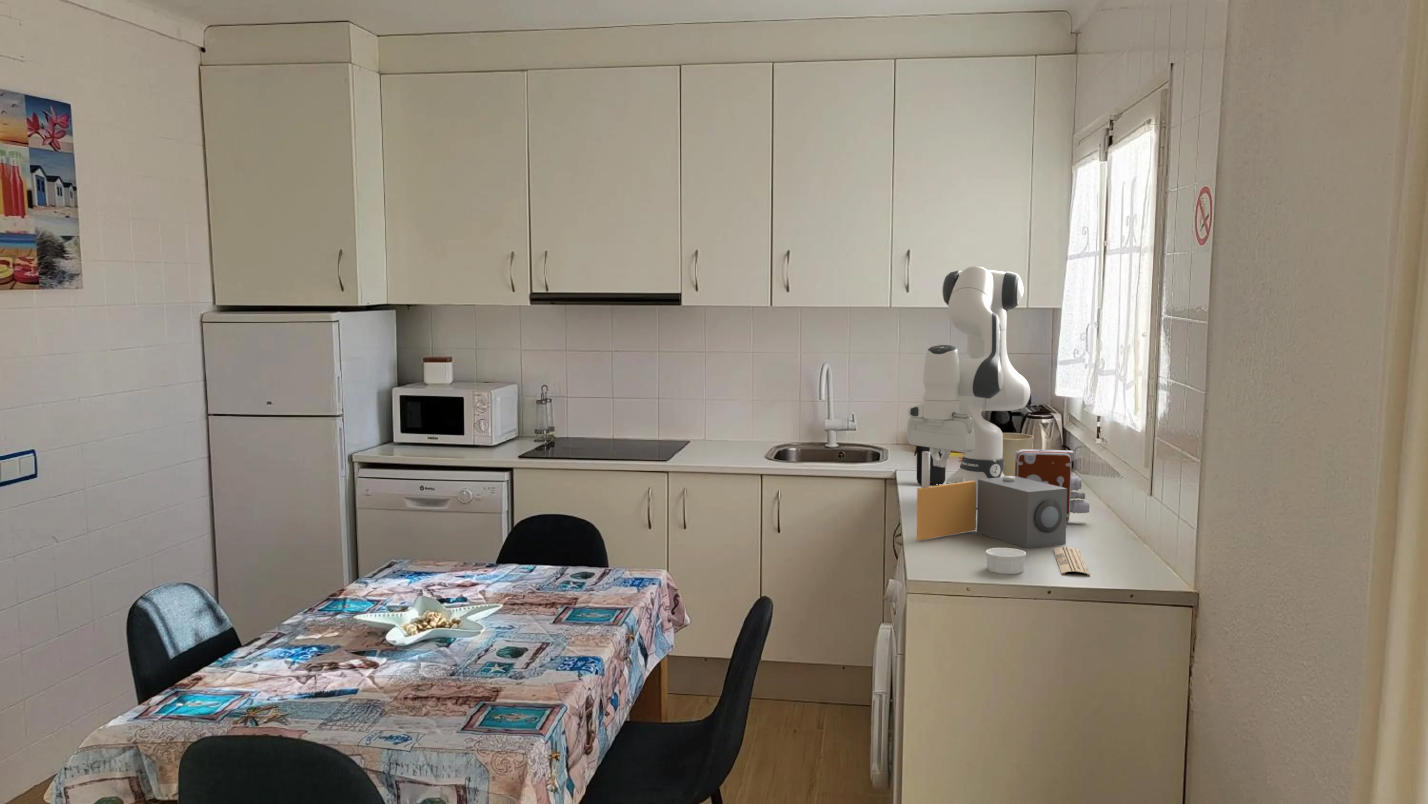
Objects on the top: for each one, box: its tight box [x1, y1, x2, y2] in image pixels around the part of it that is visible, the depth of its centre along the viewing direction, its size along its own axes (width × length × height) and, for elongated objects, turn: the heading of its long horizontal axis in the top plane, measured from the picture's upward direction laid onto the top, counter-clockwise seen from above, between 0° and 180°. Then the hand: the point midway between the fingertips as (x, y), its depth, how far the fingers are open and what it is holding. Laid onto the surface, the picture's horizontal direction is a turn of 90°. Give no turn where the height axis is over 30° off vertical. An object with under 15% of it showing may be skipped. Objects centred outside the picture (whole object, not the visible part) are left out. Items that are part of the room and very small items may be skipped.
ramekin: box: [985, 547, 1027, 575], centre depth 242 cm, size 9×9×4 cm
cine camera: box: [1015, 448, 1090, 525], centre depth 292 cm, size 9×19×20 cm, turn 78°
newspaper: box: [1052, 546, 1091, 577], centre depth 249 cm, size 24×7×2 cm, turn 167°
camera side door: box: [916, 451, 977, 541], centre depth 275 cm, size 21×2×22 cm, turn 124°
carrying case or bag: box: [913, 445, 947, 486], centre depth 350 cm, size 11×3×15 cm, turn 99°
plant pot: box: [1002, 432, 1034, 476], centre depth 352 cm, size 15×15×16 cm
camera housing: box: [976, 476, 1067, 549], centre depth 273 cm, size 21×12×15 cm, turn 23°
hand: (939, 466), depth 266 cm, fingers closed
